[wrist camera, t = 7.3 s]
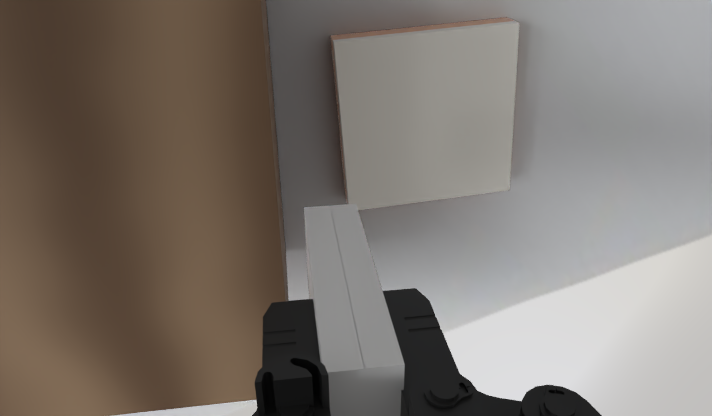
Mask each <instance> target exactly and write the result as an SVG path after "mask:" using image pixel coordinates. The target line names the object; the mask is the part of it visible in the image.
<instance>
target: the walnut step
mask: <svg viewBox="0 0 712 416" xmlns="http://www.w3.org/2000/svg"><path fill="white" fill-rule="evenodd" d="M284 301H288V285H287V267H286V249H285V236H284V224H283V211H282V198H281V186H280V173H279V160H278V147H277V135H276V122H275V109H274V96H273V84H272V71H271V58H270V46H269V33H268V20H267V7H266V0H0V416H110V415H120V414H129V413H138V412H147V411H156V410H165V409H174V408H183V407H192V406H201V405H210V404H219V403H228V402H238V401H247V400H256V391H255V379H256V376H257V372H258V371H259V370H260V369H261V368H262V348H263V345H262V343H263V316H264V314H265V313H266V311H267V309H268V308H269V306H270V305H271V303H273V302H284Z"/></svg>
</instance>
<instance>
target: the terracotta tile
mask: <svg viewBox="0 0 712 416" xmlns="http://www.w3.org/2000/svg"><path fill="white" fill-rule="evenodd" d="M330 37H331V48H332V59H333V69H334V80H335V91H336V102H337V112H338V123H339V134H340V144H341V155H342V166H343V177H344V187H345V198H346V201H347V204H356V205H357V208H358V210H366V209H374V208H381V207H389V206H396V205H404V204H411V203H419V202H426V201H434V200H442V199H449V198H457V197H464V196H472V195H479V194H487V193H494V192H502V191H509V190H510V177H511V160H512V143H513V126H514V109H515V91H516V74H517V57H518V40H519V22H516V21H514V20H512V19H509V18H507V17H504V18H494V19H485V20H475V21H466V22H456V23H446V24H437V25H427V26H417V27H408V28H398V29H389V30H379V31H369V32H360V33H350V34H341V35H331V36H330Z"/></svg>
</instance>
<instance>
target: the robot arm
mask: <svg viewBox="0 0 712 416" xmlns="http://www.w3.org/2000/svg"><path fill="white" fill-rule="evenodd" d="M304 221H305V238H306V255H307V273H308V288H309V298H310V299H306V300H295V301H284V302H273V303H271V305H270V306H269V308H268V309H267V311H266V313H265V314H264V316H263V343H262V345H263V348H262V368H261V369H260V370H259V371H258V372H257V376H256V379H255V391H256V399H257V407H258V408H257V411H256V412H255V413H254V414H253V415H252V416H601V415H600V414H599V413H598V412H597V411H596V410H595V409H594V408H593V407H592V406H591V404H590V403H589V402H587V401H586V400H585V399H584V398H582V397H581V396H580V395H578V394H577V393H576V392H573V391H571V390H569V389H566V388H563V387H560V386H553V385H544V386H537V387H535V388H533V389H531V390H530V391H528V392H527V393H526V394H525V396H524V398H523V400H522V401H515V400H509V399H502V398H497V397H492V396H488V395H486V394H483V393H481V392H479V391H477V390H476V389H475V387H474V386H473V385H472V383H471V382H470V381H469V380H468V379H466V378H464V377H463V376H462V375H460V373H459V371H458V369H457V367H456V364H455V362H454V359H453V357H452V355H451V352H450V350H449V348H448V345H447V342H446V340H445V338H444V335H443V333H442V330H441V329H440V326H439V323H438V321H437V318H436V317H435V314H434V311H433V309H432V306H431V304H430V301H429V300H428V299H427V298H426V297H425V296H424V295H423V294H421V293H420V292H419V291H418V290H417V289H416V288H414V289H402V290H391V291H382V288H381V284H380V281H379V278H378V274H377V271H376V268H375V264H374V261H373V258H372V254H371V251H370V248H369V245H368V241H367V238H366V235H365V231H364V228H363V225H362V221H361V218H360V215H359V211H358V208H357V205H356V204H343V205H329V206H315V207H304Z"/></svg>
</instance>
